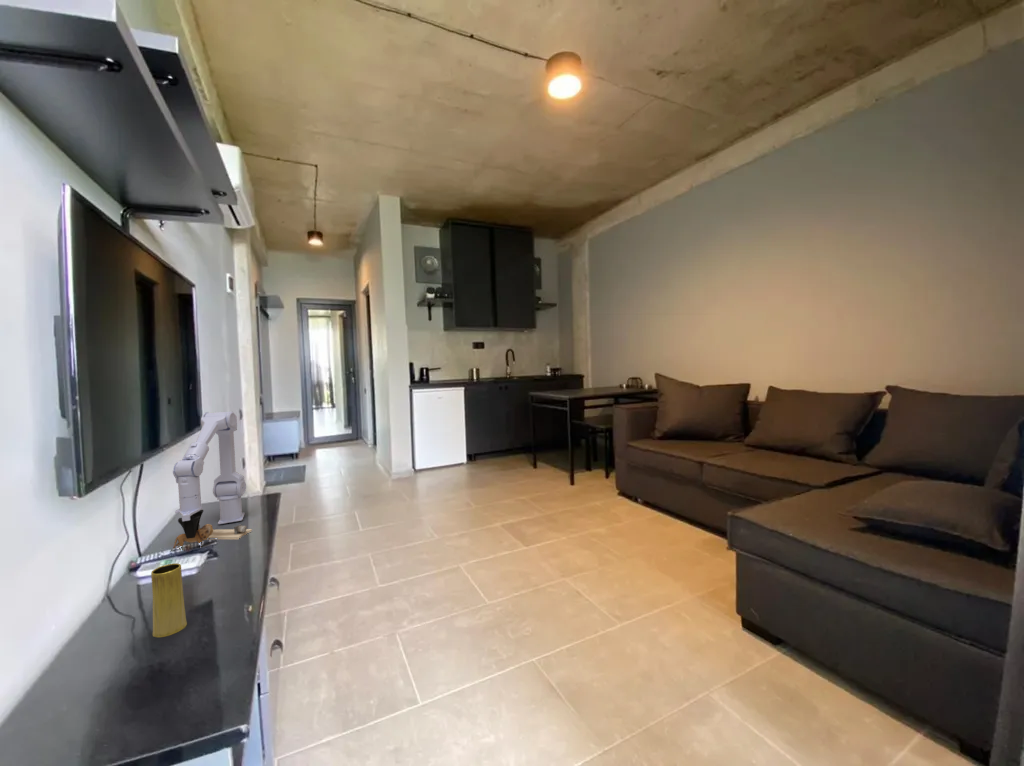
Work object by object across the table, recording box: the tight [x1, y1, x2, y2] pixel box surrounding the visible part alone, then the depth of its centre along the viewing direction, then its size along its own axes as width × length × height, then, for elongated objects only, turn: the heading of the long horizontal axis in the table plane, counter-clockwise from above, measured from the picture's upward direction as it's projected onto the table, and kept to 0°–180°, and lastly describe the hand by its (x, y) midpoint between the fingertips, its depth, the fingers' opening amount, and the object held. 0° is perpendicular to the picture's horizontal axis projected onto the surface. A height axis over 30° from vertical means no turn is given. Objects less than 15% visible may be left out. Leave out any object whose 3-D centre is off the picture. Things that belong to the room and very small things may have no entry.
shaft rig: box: [198, 523, 253, 540], centre depth 150 cm, size 7×21×4 cm, turn 88°
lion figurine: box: [172, 523, 214, 549], centre depth 140 cm, size 12×4×7 cm, turn 121°
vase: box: [150, 562, 188, 638], centre depth 95 cm, size 6×6×14 cm
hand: (192, 535), depth 140 cm, fingers closed on lion figurine, 4 cm apart
